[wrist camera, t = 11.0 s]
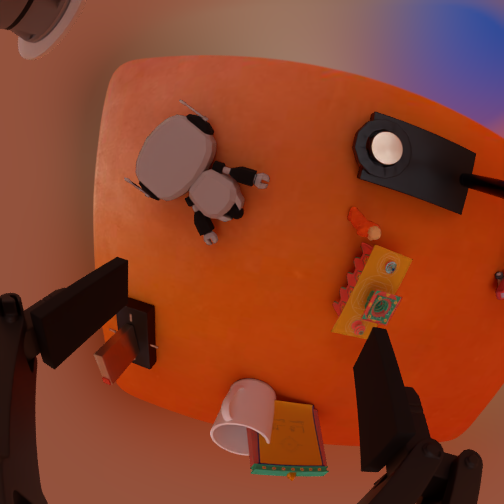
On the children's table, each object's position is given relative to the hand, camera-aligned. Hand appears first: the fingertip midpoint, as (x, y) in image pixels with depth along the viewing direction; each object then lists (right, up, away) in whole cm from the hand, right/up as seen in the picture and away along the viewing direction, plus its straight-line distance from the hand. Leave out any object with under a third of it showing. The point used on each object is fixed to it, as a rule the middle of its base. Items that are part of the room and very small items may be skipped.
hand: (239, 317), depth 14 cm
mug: (0, -20, +31) cm, 37 cm away
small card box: (-19, -11, +29) cm, 37 cm away
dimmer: (-18, -10, +32) cm, 38 cm away
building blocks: (+11, -8, +24) cm, 28 cm away
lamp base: (+20, +14, +16) cm, 29 cm away
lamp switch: (+14, +14, +13) cm, 24 cm away
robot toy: (-6, +13, +22) cm, 26 cm away
